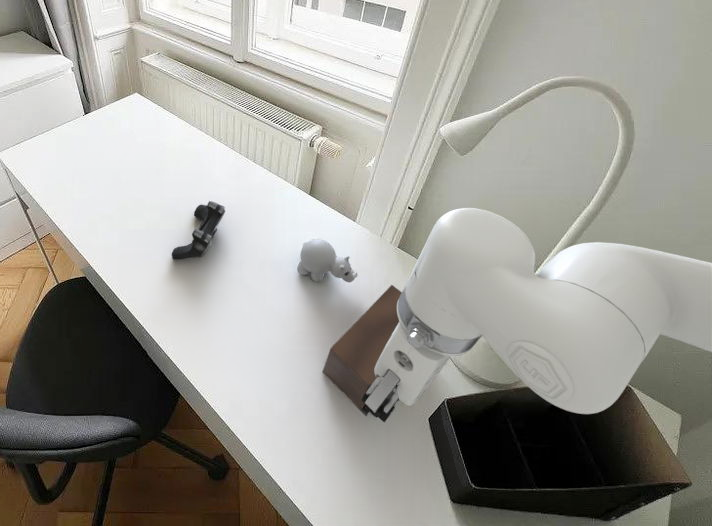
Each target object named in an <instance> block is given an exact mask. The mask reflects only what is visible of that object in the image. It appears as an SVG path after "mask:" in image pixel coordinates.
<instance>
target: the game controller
mask: <svg viewBox="0 0 712 526" xmlns="http://www.w3.org/2000/svg"><path fill="white" fill-rule="evenodd" d="M225 209H226V207H225V206H224V205H221V204H219V203H217V202H215V201H212V200H211V201H210V200H208V203H207V204H199V205H198V206H196V208H195V210H194V211H193V216H194V217H195V219H197V220H199V221H201V224H200V226H199V227H198V228H194V229H193V231H192V233H191V236H192V241H191V242H190V243H188V244H186V245H180V246H176V247H175V248H173V250H172V252H171V259H172V260H174V261H179V260H180V261H181V260H187V259H193V258H202V257H203V256H204V255H205V254H206V252H207V251H209V249H211V246H212V240H213V239H212V238H214V237H216V235H217V233H218V231H219V230H218V228H217V226H218V225H219V224H220V222H221V221H222V219H223V217H224V215H225V213H226V210H225Z"/></svg>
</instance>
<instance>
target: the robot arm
mask: <svg viewBox="0 0 712 526" xmlns="http://www.w3.org/2000/svg"><path fill="white" fill-rule="evenodd" d="M535 263H536V253H535V249H534V247H533V244H532V242H531V240H530V239H529V238H528V236H527V234H526V233H525V232H524V231H523V230H522V229H520V228H519V227H518V225H516V224H514V222H512V221H510V220H509V219H507V218H505V217H503V216H502V215H499V214H497V213H495V212H493V211H489V210H486V209H482V208H476V207H460V208H456V209H452V210H449V211H447V212H446V213H444V214H443V215H442V216H440V217H439V218H438V219H437V221H436V222H435V224H434V226H433V227H432V229H431V230H430V234H429V235H428V237H427V240H426V241H425V244H424V246H423V248H422V250H421V252H420V254H419V256H418V258H417V259H416V262H415V265H414V267H413V269H412V271H411V273H410V275H409V277H408V279H407V281H406V283H405V285H404V287H403V289H402V291H401V292H402V293H401V295H400V298H399V300H398V302H397V315H398V318H399V323H398V325H397V327H396V328H395V330H394V332H393V333H392V335H391V337H390V339H389V341H388V342H387V344H386V346H385V348H384V350H383V351H382V353H381V355H380V357H379V359H378V361H377V363H376V366H375V369H374V373H375V376H376V377H377V376H378V377H377V378H376V379H375V381H374V382H373V384H372V385H371V384H370V385H369V387H368V388H367V390H366V392H365V394H364V396H363V398H362V401H363V403H364V404H365V405H366V409H367V410H368V411H369V414H370V415H371V416H373V417H374V418H377V419H379V420H381V422H382V423H386V421H387V420H388V418H390V416H391V414H392V413H393V411H394V410H395V408H396V407H395V406H394V404H395V402H396V401H397V400H398V398H399V400H398V401H400V402H401V403H403V404H404V405H405V406H409V407H410V406H414V405H415V403H416V402H417V401H418V400H419V399H420V397H421V396H422V395H423V393H424V392H425V391H426V390H427V389H428V387H429V386H430V385H431V383H432V382H433V381H434V379H435V378H436V377H437V376H438V374H439V373H440V372H441V371H442V369H443V368H444V366H446V364H447V363H448V361H449V360H450V359H451V357H459V356H463V355H465V354H467V353H468V352H470V351H471V350H472V349H473V348H474V346H475V345H476V344H477V343H478V341H479V340H480V339H481V338H483V339H484V340H485V342H486V343H487V344H488V345H489V346H490V347H491V349H492V350H493V351H494V352H495V354H496V355H497V356H498V357H499V358H500V359H501V360H502V362H503V363H504V364H505V365H506V366H507V367H508V368H509V369H510V370H511V372H512V373H513V374H514V375H515V376H516V377H517V378H518V379H519V380H520V381H521V382H522V383H523V384H524V385H525V386H527V387H528V388H529V389H530V390H531V391H532V392H534V393H535V394H536V395H538V396H539V397H540V398H542V399H543V400H545V401H546V402H547V403H549V404H551V405H553V406H555V407H556V408H559V409H561V410H564V411H566V412H570V413H575V414H581V415H592V414H599V413H600V412H604V411H605V410H607V409H608V408H610V407H611V406H612V405H614V403H616V401H617V400H619V398H620V397H621V395H622V394H623V392H624V391H625V389H626V387H627V386H628V385H629V383H630V381H631V380H632V378H633V376H634V375H635V373H636V372H637V370H638V369H639V367H640V365H641V364H642V363H643V362H644V360H645V358H647V356H648V354H649V353H650V351H651V349H652V348H653V346H654V345H655V343H656V341H657V340H658V339H659V336H660V335H661V336H664V337H666V338H670V339H673V340H676V341H679V342H682V343H685V344H688V345H690V346H693V347H696V348H699V349H701V350H705V351H707V352H709V353H712V262H709V261H705V260H701V259H697V258H693V257H688V256H683V255H679V254H676V253H675V254H674V253H670V252H666V251H660V250H657V249H651V248H647V247H642V246H637V245H631V244H625V243H616V242H603V241H595V242H594V241H593V242H583V243H579V244H575V245H570V246H568V247H566V248H564V249H562V250H561V251H559V252H558V253H556V255H554V256H553V257H552V258H551V259H550V260H549V261H548V262H547V263H546V264H545V265H544V266H543V267H542V268H541V269H540V270H539V271H538V272H537V273H535ZM386 373H387V374H386ZM391 391H393V392H394V393H395V394H394V395H393V396H392V398H391V399H389V398H388V397H387V396H388V395H389V394H390V392H391Z"/></svg>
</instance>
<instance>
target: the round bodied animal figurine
mask: <svg viewBox="0 0 712 526" xmlns="http://www.w3.org/2000/svg"><path fill="white" fill-rule="evenodd" d="M349 259H350V256H346V257H342V256H337V253H336V251H335V249H334V247H333V245H331V243H330V242H328V241H327V240H325V239H322V238H313V239H310V240H308V241H307V242H306V241H305V242H304V243H303V244H302V247H301V250H300V262H298V264H297V267H296V268H297V272H298V274H300V275H302V276H306V275H308V274H309V273H310V278H311V280H312V281H313V282H317V283H319V282H322V281H323V279H324V277H325V274H327V273H329V272H330V273H331V275H332V276H333V277H335V278H337V279H341V280H343V281H344V282H346V283H352V282H353V281H355V279H356V278H357V277H358V272H355V271H354V270H353V269H352V267H351V263H350V261H349Z"/></svg>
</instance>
